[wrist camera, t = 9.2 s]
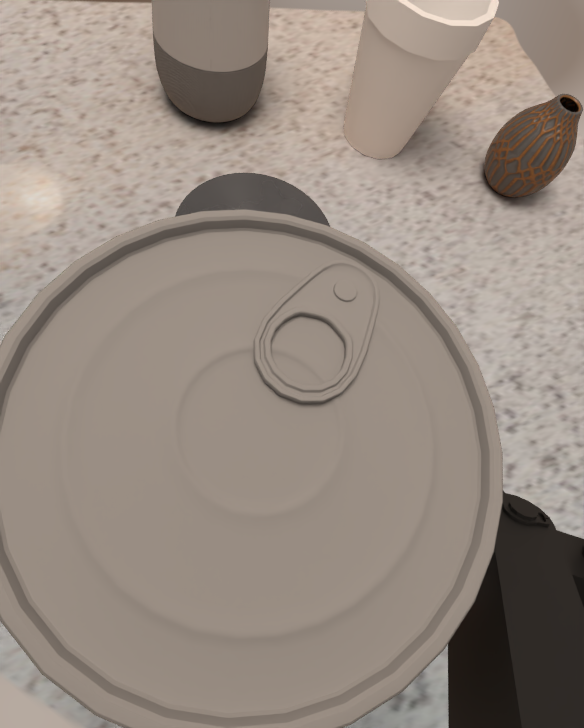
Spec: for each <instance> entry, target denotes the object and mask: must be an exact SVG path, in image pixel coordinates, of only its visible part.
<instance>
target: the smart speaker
mask: <svg viewBox="0 0 584 728" xmlns="http://www.w3.org/2000/svg"><path fill="white" fill-rule="evenodd" d="M269 9H270V0H152V22H153V41H154V52H155V60H156V66H157V71H158V74H159V77H160V81H161V83H162V86H163V88H164V90H165V92H166V94H167V95H168V97H169V98H170V100H171V101H172V102H173V103H174V105H175V106H176V107H177V108H179V109H180V110H181V111H182V112H184V113H186V114H187V115H189V116H191V117H193V118H196V119H199V120H202V121H206V122H214V123H221V122H228V121H232V120H235V119H238V118H240V117H241V116H243V115H244V114H246V113H247V112H248V111H249V110H250V109H251V107H252V106H253V105H254V103H255V102H256V100H257V98H258V96H259V93H260V91H261V88H262V84H263V80H264V76H265V69H266V60H267V49H268V31H269Z"/></svg>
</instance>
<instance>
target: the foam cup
mask: <svg viewBox="0 0 584 728" xmlns="http://www.w3.org/2000/svg"><path fill="white" fill-rule="evenodd" d="M365 2H366V10H365V15H364V20H363V25H362V30H361V36H360V41H359V46H358V51H357V57H356V62H355V67H354V72H353V77H352V83H351V88H350V93H349V98H348V103H347V109H346V114H345V119H344V121H345V123H344V126H343V127H344V134H345V138H346V139H347V140H348V142H349V143H350V145H351V146H352V147H353V148H354V149H356V150H357V151H359V152H360V153H362V154H363V155H365V156H369V157H372V158H376V159H386V158H392V157H394V156H395V155H397V154H398V153H400V152H401V150H402V148H404V146H405V145H406V144H407V142H408V141H409V139H410V138H411V137H412V135H413V134H414V132H415V131H416V129H417V128H418V127H419V125H420V124H421V122H422V121H423V120H424V118H425V117H426V115H427V114H428V112H429V111H430V110H431V108H432V107H433V105H434V104H435V103H436V101H437V100H438V98H439V97H440V96H441V94H442V93H443V91H444V90H445V88H446V87H447V86H448V84H449V83H450V81H451V80H452V79H453V77H454V76H455V74H456V73H457V71H458V70H459V69H460V67H461V66H462V64H463V63H464V62H465V60H466V59H467V57H468V56H469V55H470V54H471V53H473V52H474V51H475V50H476V49H477V47H478V45H479V43H480V41H481V40H482V38H483V36H484V34H485V33H486V31H487V29H488V27H489V25H490V24H491V22H492V20H493V18H494V15H495V13H496V10H497V7H498V4H499V2H498V0H365Z"/></svg>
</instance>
